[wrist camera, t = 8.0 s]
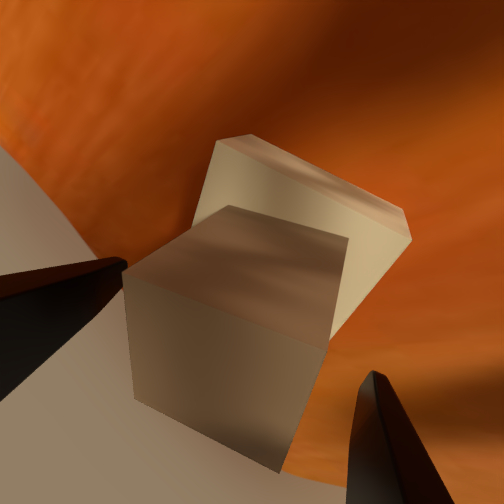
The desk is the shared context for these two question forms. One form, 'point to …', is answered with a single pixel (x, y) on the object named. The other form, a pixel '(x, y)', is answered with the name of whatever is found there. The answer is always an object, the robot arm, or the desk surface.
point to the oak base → (308, 209)
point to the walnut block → (234, 327)
